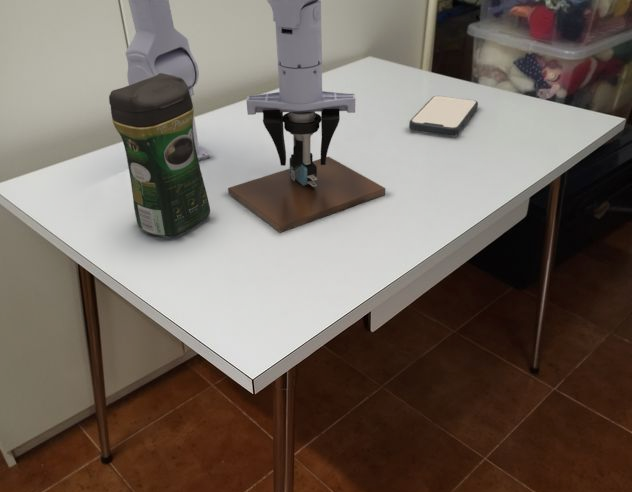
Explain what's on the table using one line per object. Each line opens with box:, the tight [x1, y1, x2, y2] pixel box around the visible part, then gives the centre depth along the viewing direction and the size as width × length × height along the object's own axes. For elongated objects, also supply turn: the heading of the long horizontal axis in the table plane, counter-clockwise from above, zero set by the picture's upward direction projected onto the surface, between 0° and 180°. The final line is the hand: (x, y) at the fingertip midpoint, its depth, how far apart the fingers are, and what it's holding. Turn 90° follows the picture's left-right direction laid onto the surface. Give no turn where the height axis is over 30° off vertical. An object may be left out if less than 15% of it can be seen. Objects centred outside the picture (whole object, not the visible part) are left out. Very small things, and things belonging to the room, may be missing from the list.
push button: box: [283, 112, 321, 187], centre depth 88 cm, size 7×5×10 cm
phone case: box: [408, 95, 479, 137], centre depth 111 cm, size 9×2×16 cm
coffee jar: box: [108, 73, 211, 239], centre depth 79 cm, size 10×8×19 cm
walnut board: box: [227, 156, 386, 233], centre depth 90 cm, size 18×14×1 cm
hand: (303, 162), depth 89 cm, fingers closed on push button, 5 cm apart
